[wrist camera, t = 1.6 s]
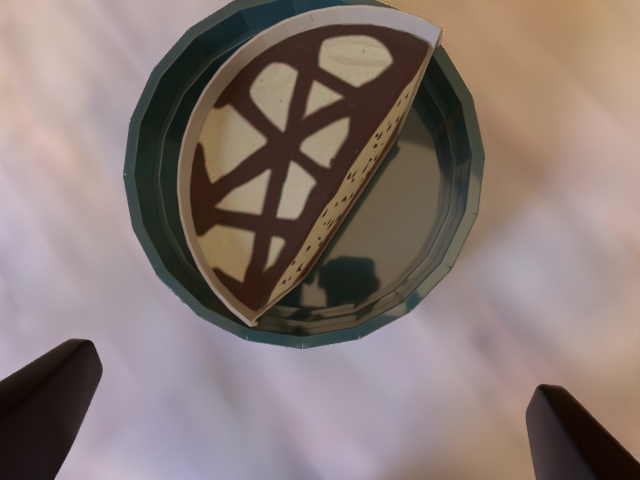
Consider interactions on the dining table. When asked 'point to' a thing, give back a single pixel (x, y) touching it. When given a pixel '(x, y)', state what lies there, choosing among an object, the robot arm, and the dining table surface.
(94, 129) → the dining table surface
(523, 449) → the dining table surface
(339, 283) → the bowl
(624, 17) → the dining table surface
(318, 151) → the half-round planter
